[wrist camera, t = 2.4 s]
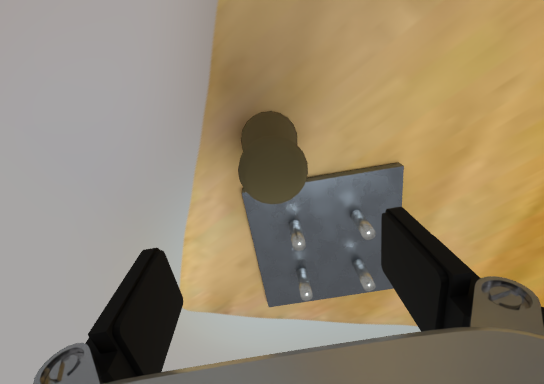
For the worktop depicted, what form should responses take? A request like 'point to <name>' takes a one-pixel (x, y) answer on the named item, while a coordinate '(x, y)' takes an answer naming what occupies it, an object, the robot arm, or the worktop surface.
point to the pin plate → (325, 235)
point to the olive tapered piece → (271, 159)
